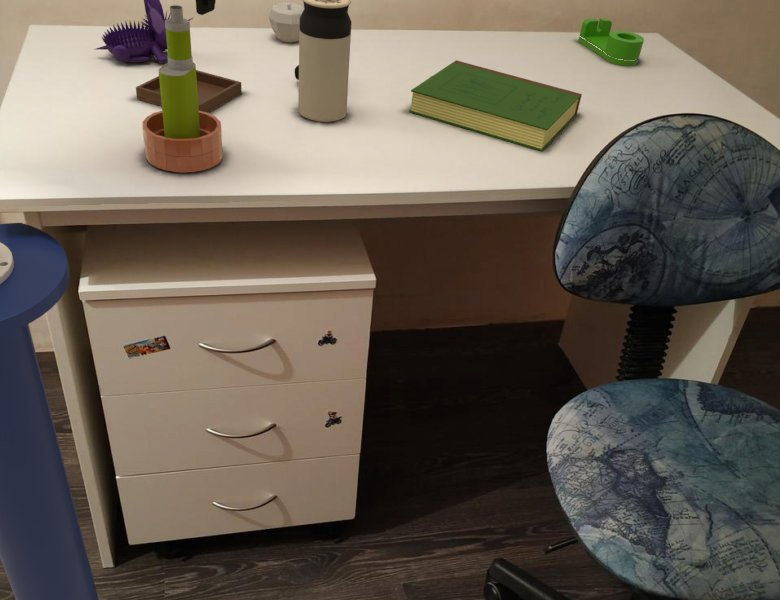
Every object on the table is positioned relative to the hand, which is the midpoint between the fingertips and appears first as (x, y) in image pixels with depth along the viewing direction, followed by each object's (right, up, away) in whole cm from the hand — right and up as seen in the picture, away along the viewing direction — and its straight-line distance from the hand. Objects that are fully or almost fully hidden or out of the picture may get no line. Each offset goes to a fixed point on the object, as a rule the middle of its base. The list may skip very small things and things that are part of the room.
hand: (173, 4), depth 103 cm
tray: (-5, -1, +30) cm, 31 cm away
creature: (-16, +10, +41) cm, 45 cm away
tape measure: (+15, +4, +39) cm, 42 cm away
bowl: (-2, -16, +14) cm, 21 cm away
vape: (-2, -16, +13) cm, 21 cm away
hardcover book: (+46, -1, +37) cm, 59 cm away
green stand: (+75, +22, +68) cm, 103 cm away
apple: (+8, +19, +55) cm, 59 cm away
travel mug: (+17, -4, +30) cm, 34 cm away
